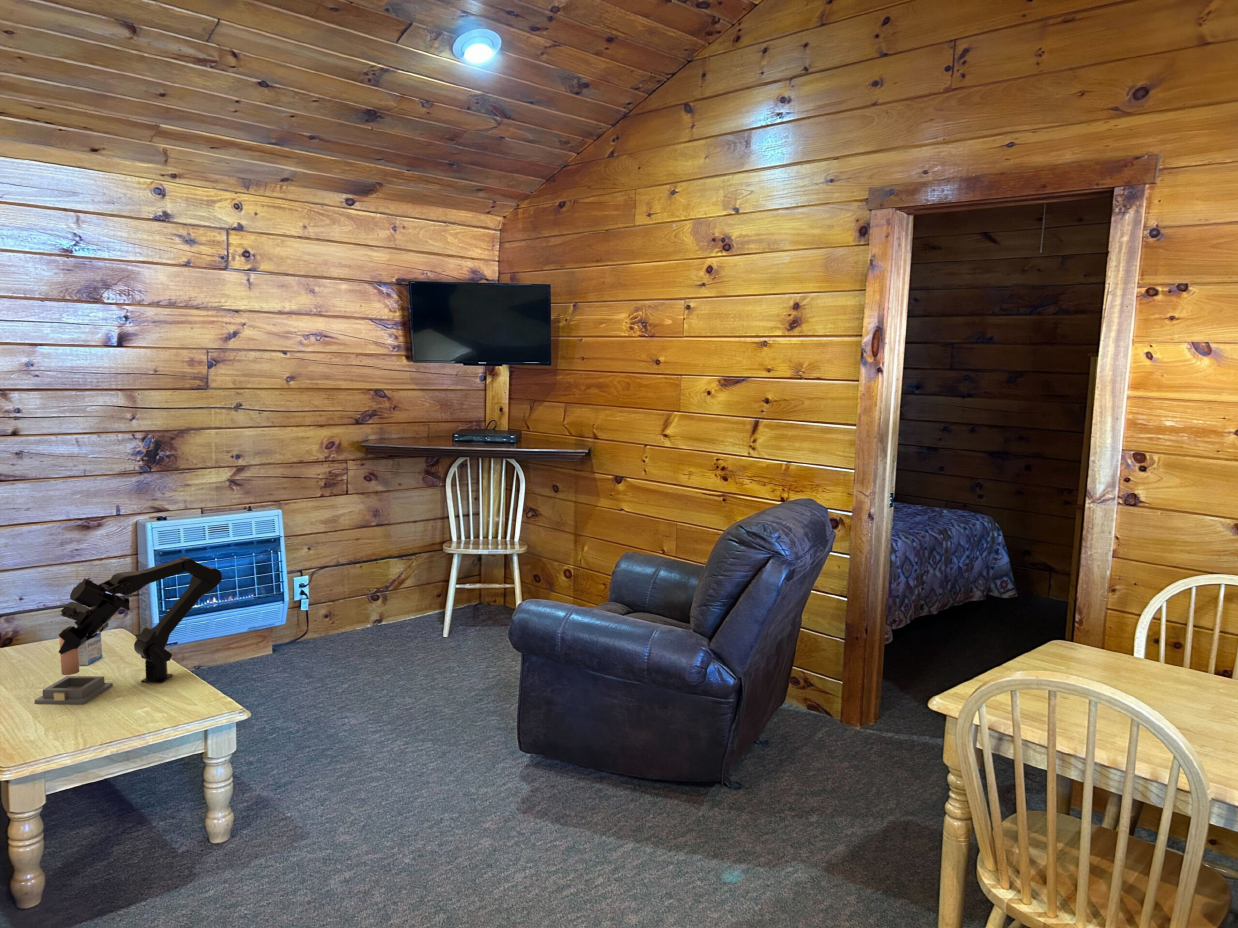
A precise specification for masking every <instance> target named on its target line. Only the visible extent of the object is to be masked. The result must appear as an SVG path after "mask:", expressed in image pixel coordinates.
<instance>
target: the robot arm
mask: <svg viewBox="0 0 1238 928" xmlns="http://www.w3.org/2000/svg"><path fill="white" fill-rule="evenodd" d="M185 572H186V573H187V574H188V575H191V578H190V581H189V585H188V587H187V588H186V590H185V591H184V592H183V593H182V595H181V596H180V597H179V598H178V599H177V600H176V601H175V603H174V604H173V605H172V607H170V609H169V610H168V611H167V612H166V614H165V615H163V617H161V619H160V620H159V621H158V623H156V625H154V626H153V627H151V628H149V627H146V626H145V627H144V628H143V629H142V631H140V634H139V635H138V636H136V637H135V639H136V640H135V642H134V643H133V646H134V648H133V649H134V652H136V654H138V655H140V657H141V658H142V660H143V659H144V660H145V663H144V664H145V665H144V667H145V678H143V679H141V681H140V682H141V683H149V684H150V683H154V684H155V683H156V684H158V683H161V684H162V683H164V682H165V681H167V680H169V678H171V677H173V673H168V662H169V661H171V658H172V655H173V654H172V652H171V651H168V650H167V649H166V646H167V645H168V642H169V640H170V639H169V638H170V636H171V633H172V632H173V631H174V630H175V629H176V628H177V627H178V625H179V624H180V623H181V622H182V621H183V620H184V618H186V616H187V615H188V613H189V612H190V611H191V610H192V609H193V608H194V606H195V605H196V604H197V602H198V601H199V600H200V599H201V598H202V597H203V596H205V595H207V594H208V593H210V592H211V591H213V590H214V589H215V588H216V587H218V586H219V585H220V584H221V582H222V581H223V574H222V572H221V570H220V569H218V568H215V567H213V566H209V565H203V564H201V563H199V562H197V561H195V560H194V559H193V558H190V557H186V556H181V557H180V558H178V559H174V560H171V561H168V562H163V563H161V564H158V565H155V566H151V567H149V568H145V569H142V570H130V571H122V572H117V573H115V574H113V575H112V576H111V577H110V578H109V579H107V580H105V581H102V582H101V583H99V584H97V583H95V582H93V581H92V580H90V579H88V578H86V577H85V578H83V580H82V581H81V582H79V583H77V584H76V586H74V587H73V589H72V590H71V592H70V593H69V594H70V596H69V599H70V600H71V601H69V602H68V603H66V604H65V605H64V607H63V608H62V609H61V610H60V612H61V614H60V616H61V617H64V618H67V619H69V620H70V619H71V620H73V621H74V623H73V624H75V625H76V626H77V627H76V626H74V625H73V626H71V625H70V626H68V627H66V628H64V629H63V630H62V631H60V632H61V633H60V632H59V633H60V634H59V633H58V638H59V637H60V638H62V639H63V640H64V643H63V645H62V646H61V648H60V647H59V650H58V654H63V653H66V652H68V651H70V650H73V649H77V648H79V647H80V646H82V645H83V644H85V642H86V641H88V640H90V639H92V638H94V637H95V636H97V635H98V634H97V632H100V633H103V632H104V631H105V630H106V629H107V628H108V627H109V622H110V621H111V620H112V618H113V617H114V616H115V615H116V614H117V613H118V612H119V611H120V610H121V609H124V610H126V611H130V610H131V606H130V603H131V601H130V597H123V596H130V595H133V594H134V593H136V592H139V591H141V590H142V589H143V588H144V587H145V586H147V585H149V584H152V583H155V582H158V581H160V580H164V579H167V578H171V577H174V576H177V575H180V574H182V573H185ZM118 594H120V595H122V596H119V595H118Z"/></svg>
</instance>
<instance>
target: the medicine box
mask: <svg viewBox="0 0 1238 928" xmlns="http://www.w3.org/2000/svg"><path fill="white" fill-rule="evenodd" d="M101 633H102V632H101ZM101 633H100V632H97V634H98V635H97V636H95V637H94V638H92V639H90V640H88V641H86V642H85V644H83V645H82V646H80V647H79V648H78V656H79V666H90V665H91V664H93V663H95V662H96V661H98V660H99V659H102V658H103V646H102V645H103V644H102V634H101Z"/></svg>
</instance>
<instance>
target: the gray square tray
mask: <svg viewBox="0 0 1238 928" xmlns="http://www.w3.org/2000/svg"><path fill="white" fill-rule="evenodd" d="M112 687H114V683H113V682H106V681H105V676H102V675H101V676H97V675H94V676H91V675H88V676H87V675H86V676H85V675H82V676H79V675H78V676H77V675H65V676H64V677H63V678H61V679H59V680H58V681H56V682H54V683H52V684H50V685H48V686H47V687H45V688H43V689H42V696H39V697H37V698H35V699H34V701H33V702H34V704H35V705H86V704H87V703H89V702H90V701H92V700H93V699H95V698H96V697H98V696H100V695H101V694H102V693H104V692H106V691H108V690H109V689H111V688H112Z"/></svg>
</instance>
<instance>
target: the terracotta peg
mask: <svg viewBox="0 0 1238 928" xmlns="http://www.w3.org/2000/svg"><path fill="white" fill-rule="evenodd" d="M61 632H62V631H60V632H59V633H58V635H59V634H60V633H61ZM58 638H59V649H60V648H61V646H62V645H63V643H64V640H63V639H62V638H60V637H59V636H58ZM59 654H60V653H59ZM60 666H61V667H60V669H61V670H60V671H61V675H62V676H73V675H77V674H78V673H79V672H80V665H79V656H78V648H77V649H73V650H70V651H68V652H66V653H63V654H60Z"/></svg>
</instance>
